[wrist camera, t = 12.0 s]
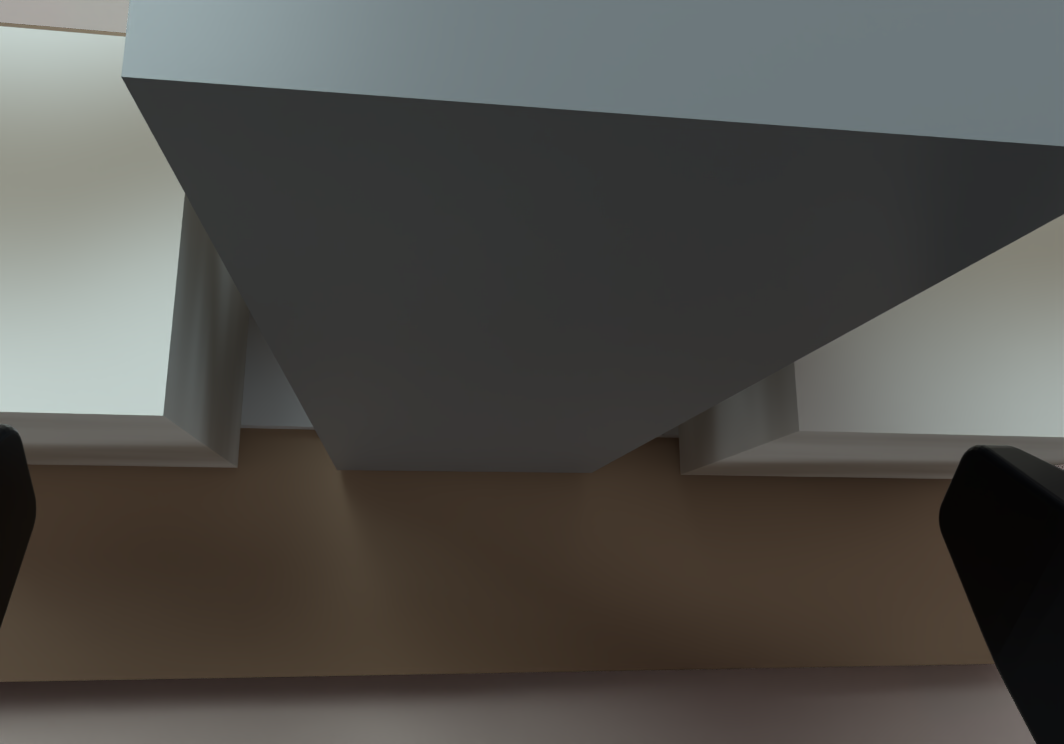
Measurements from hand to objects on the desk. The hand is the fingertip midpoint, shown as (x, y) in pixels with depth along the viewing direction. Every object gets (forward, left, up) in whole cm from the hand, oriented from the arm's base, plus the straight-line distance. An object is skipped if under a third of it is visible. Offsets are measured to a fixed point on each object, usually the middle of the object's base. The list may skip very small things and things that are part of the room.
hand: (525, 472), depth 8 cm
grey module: (+1, -3, -7) cm, 8 cm away
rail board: (+1, -3, -9) cm, 9 cm away
